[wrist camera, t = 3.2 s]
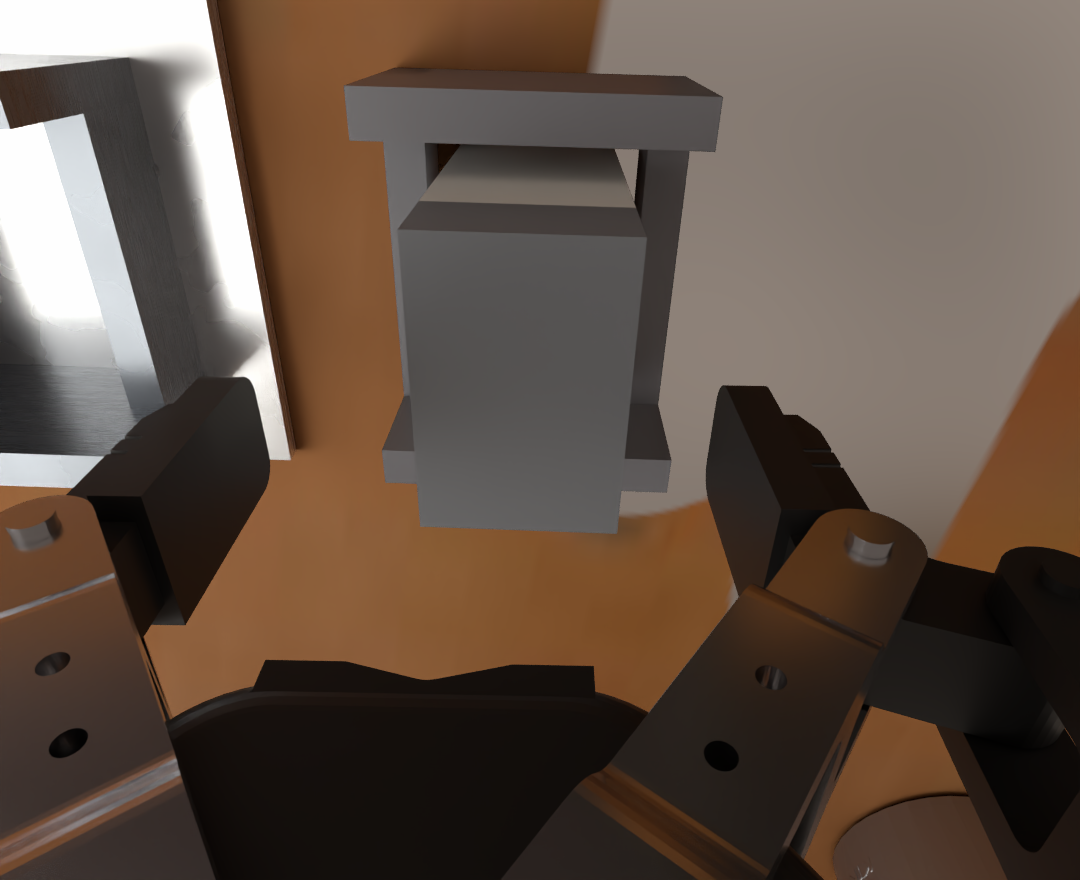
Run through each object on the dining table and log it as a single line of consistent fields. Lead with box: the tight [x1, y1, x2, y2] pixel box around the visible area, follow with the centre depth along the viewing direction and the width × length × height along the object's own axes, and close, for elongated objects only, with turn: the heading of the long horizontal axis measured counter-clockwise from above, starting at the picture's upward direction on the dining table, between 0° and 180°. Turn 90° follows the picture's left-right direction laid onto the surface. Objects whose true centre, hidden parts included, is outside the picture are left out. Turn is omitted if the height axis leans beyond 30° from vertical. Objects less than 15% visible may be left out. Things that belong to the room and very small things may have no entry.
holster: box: [344, 68, 723, 492], centre depth 19 cm, size 7×9×5 cm
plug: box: [397, 144, 647, 534], centre depth 17 cm, size 4×6×9 cm, turn 179°
